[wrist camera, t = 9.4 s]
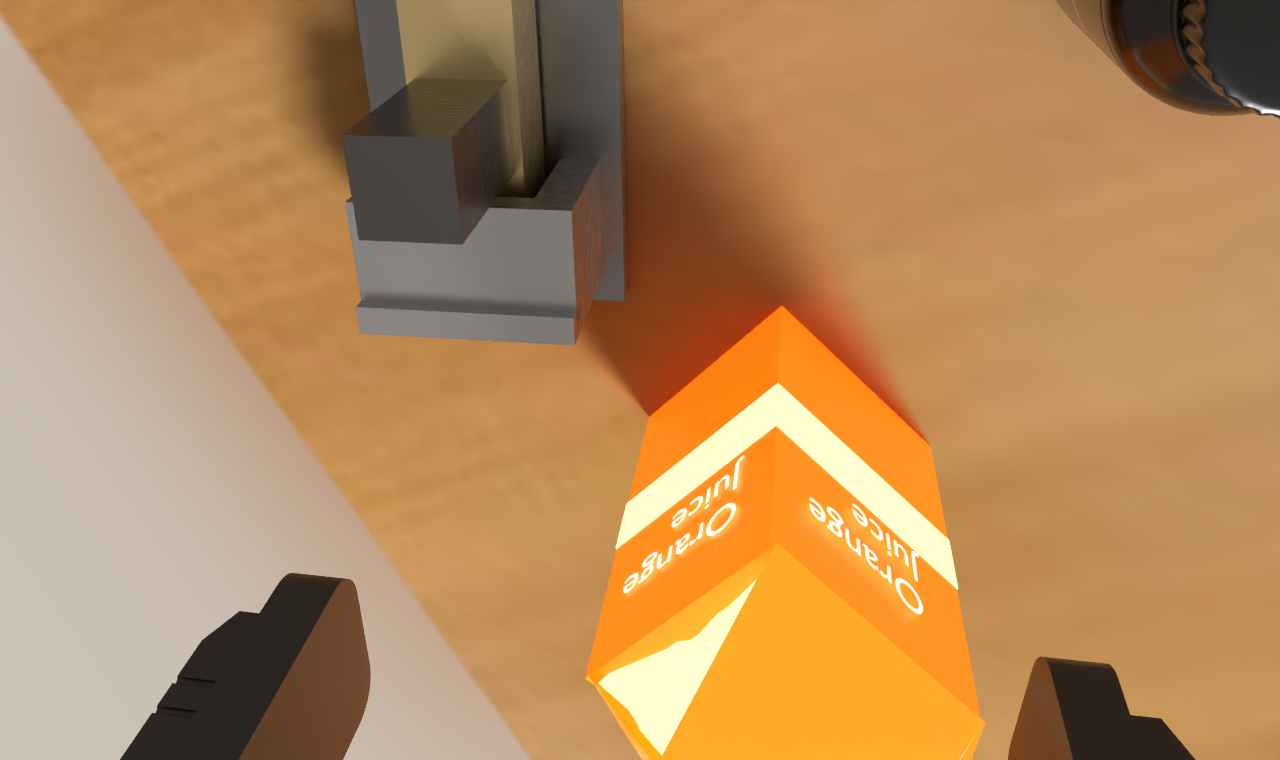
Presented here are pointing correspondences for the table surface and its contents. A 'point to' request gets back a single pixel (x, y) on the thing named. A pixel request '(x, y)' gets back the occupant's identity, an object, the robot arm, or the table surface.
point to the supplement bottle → (1191, 50)
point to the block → (451, 123)
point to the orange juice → (785, 573)
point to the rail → (516, 200)
